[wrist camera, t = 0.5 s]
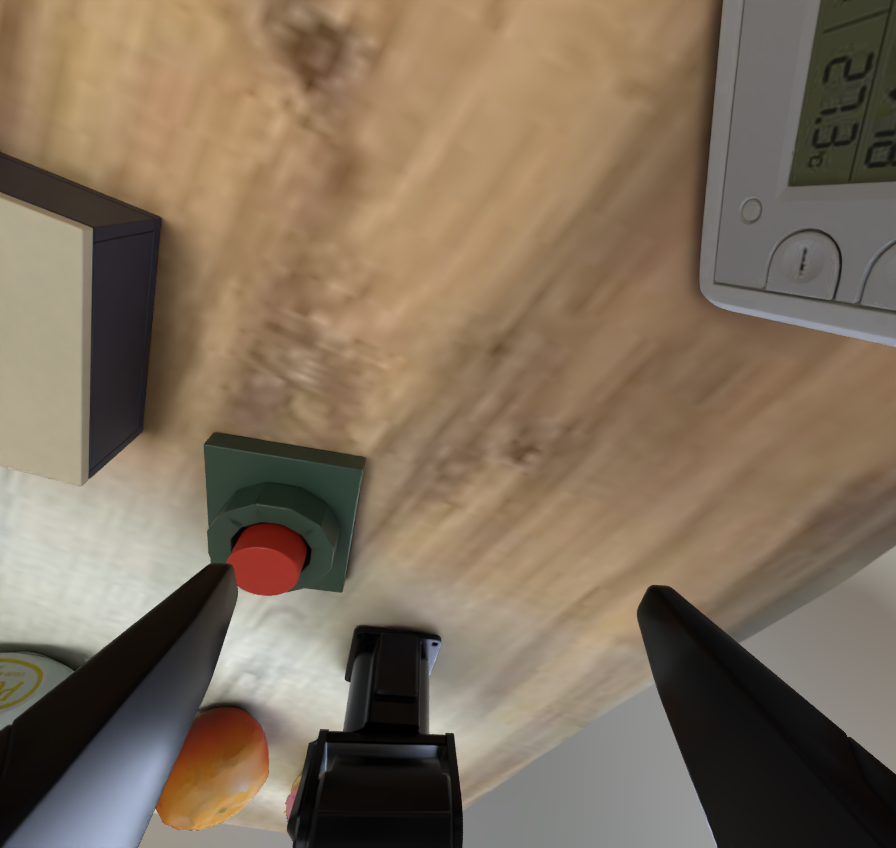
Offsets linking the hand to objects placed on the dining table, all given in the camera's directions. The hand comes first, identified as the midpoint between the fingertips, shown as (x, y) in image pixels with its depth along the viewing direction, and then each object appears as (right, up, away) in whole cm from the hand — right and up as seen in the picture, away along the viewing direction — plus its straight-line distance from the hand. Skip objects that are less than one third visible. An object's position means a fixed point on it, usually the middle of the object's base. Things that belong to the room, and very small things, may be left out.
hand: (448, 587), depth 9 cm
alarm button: (-10, -3, +14) cm, 17 cm away
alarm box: (-10, -2, +16) cm, 19 cm away
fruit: (-19, -22, +28) cm, 40 cm away
